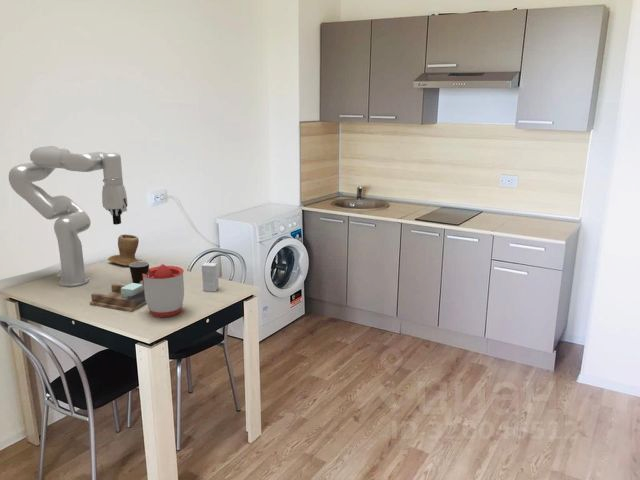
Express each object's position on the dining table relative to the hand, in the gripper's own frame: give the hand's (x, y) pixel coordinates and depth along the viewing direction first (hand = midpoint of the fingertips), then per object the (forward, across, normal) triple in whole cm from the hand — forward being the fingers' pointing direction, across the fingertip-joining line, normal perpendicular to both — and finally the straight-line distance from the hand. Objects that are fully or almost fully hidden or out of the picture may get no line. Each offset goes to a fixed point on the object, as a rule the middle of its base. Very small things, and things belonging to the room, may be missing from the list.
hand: (117, 223), depth 235 cm
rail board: (+29, +13, -15) cm, 35 cm away
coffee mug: (+29, +6, +6) cm, 31 cm away
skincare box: (+29, +39, +11) cm, 50 cm away
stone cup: (+29, -22, +29) cm, 47 cm away
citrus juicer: (+29, +35, -18) cm, 49 cm away
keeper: (+28, +18, -15) cm, 36 cm away
